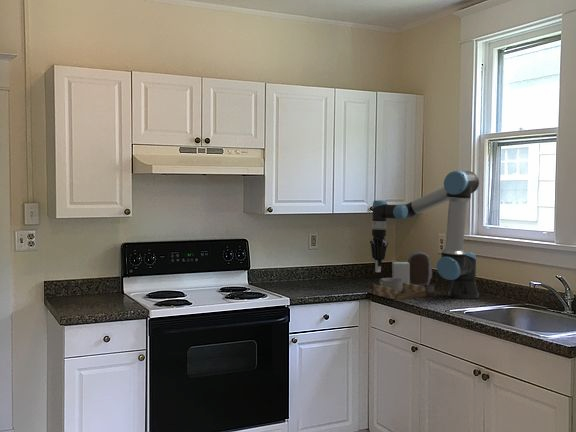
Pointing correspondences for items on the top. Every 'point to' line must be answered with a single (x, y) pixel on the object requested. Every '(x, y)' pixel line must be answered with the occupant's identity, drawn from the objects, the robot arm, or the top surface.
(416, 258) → the dark brown rounded block
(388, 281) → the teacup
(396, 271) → the supplement box
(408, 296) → the bay
